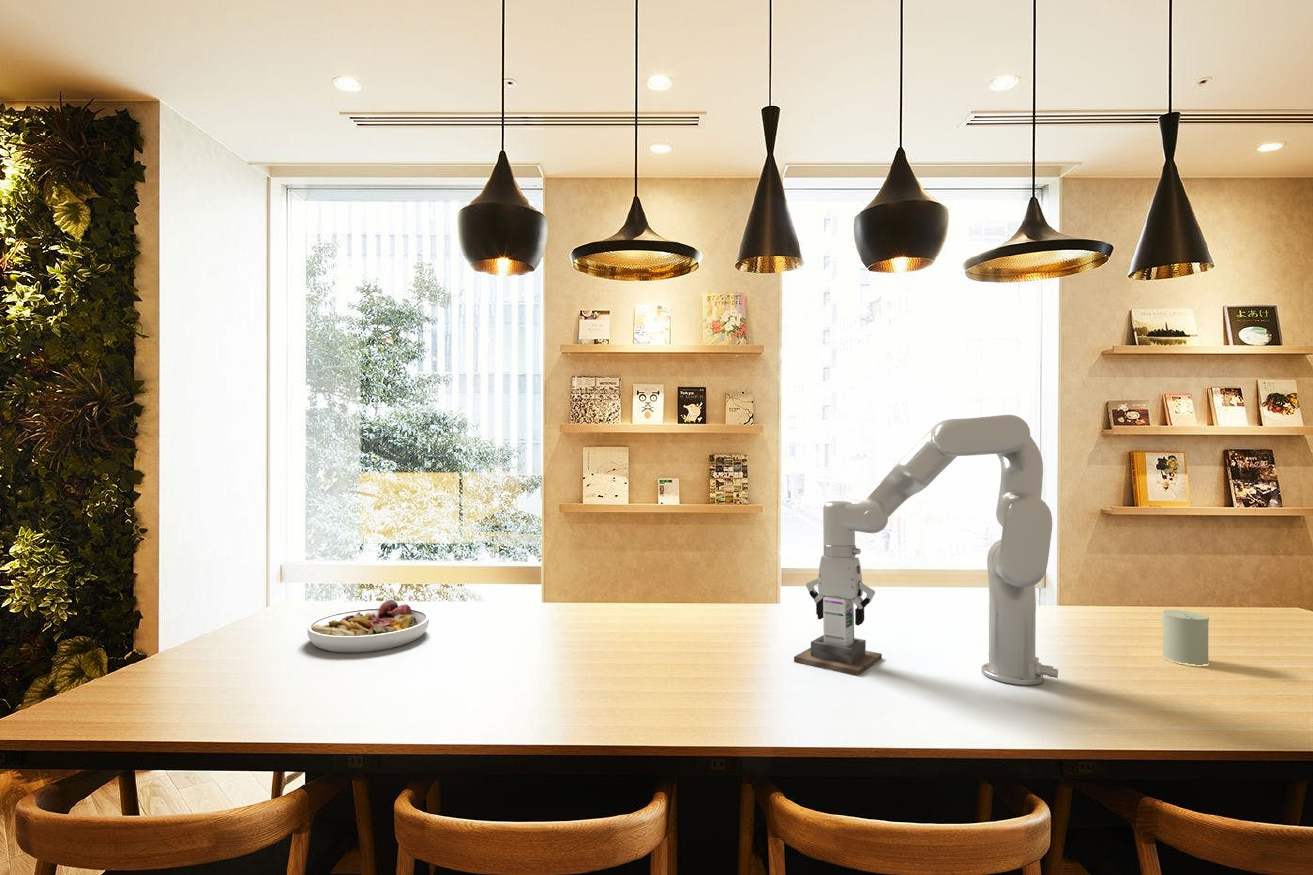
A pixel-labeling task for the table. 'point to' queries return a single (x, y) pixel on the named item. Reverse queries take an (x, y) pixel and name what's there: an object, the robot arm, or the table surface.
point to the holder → (839, 656)
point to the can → (1185, 637)
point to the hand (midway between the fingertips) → (839, 621)
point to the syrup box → (838, 621)
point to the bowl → (368, 628)
